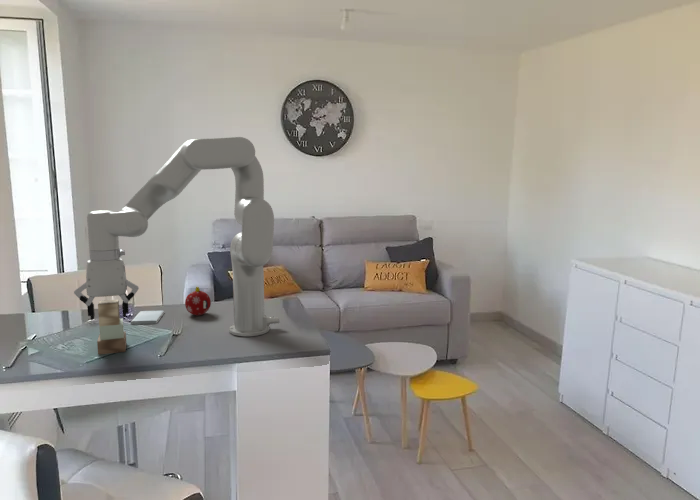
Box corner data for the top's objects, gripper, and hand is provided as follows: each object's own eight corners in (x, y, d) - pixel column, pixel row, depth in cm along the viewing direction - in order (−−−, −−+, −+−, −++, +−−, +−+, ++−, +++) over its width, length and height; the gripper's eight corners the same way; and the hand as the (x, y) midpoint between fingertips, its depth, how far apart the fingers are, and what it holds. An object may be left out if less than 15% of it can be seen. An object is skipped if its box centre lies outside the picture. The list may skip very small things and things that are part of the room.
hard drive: (156, 320, 179) (164, 310, 191) (130, 321, 178) (139, 310, 190) (156, 325, 179) (164, 314, 191) (130, 326, 178) (140, 315, 190)
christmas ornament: (202, 310, 195) (201, 282, 194) (215, 314, 189) (215, 286, 188) (180, 314, 189) (179, 286, 187) (193, 320, 183) (192, 291, 182)
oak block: (119, 319, 157) (118, 299, 156) (118, 324, 152) (117, 303, 151) (100, 321, 155) (99, 300, 154) (99, 326, 150) (97, 305, 149)
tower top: (123, 331, 159) (122, 318, 158) (123, 337, 153) (122, 324, 153) (101, 333, 156) (100, 320, 156) (100, 340, 151) (99, 326, 150)
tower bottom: (126, 344, 160) (125, 331, 159) (125, 352, 153) (124, 338, 152) (100, 347, 157) (99, 333, 157) (98, 355, 151) (97, 341, 150)
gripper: (138, 251, 156) (142, 311, 159) (71, 254, 151) (76, 316, 154) (138, 256, 149) (141, 318, 152) (67, 259, 144) (72, 323, 147)
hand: (108, 316), depth 153 cm, fingers open, 7 cm apart
